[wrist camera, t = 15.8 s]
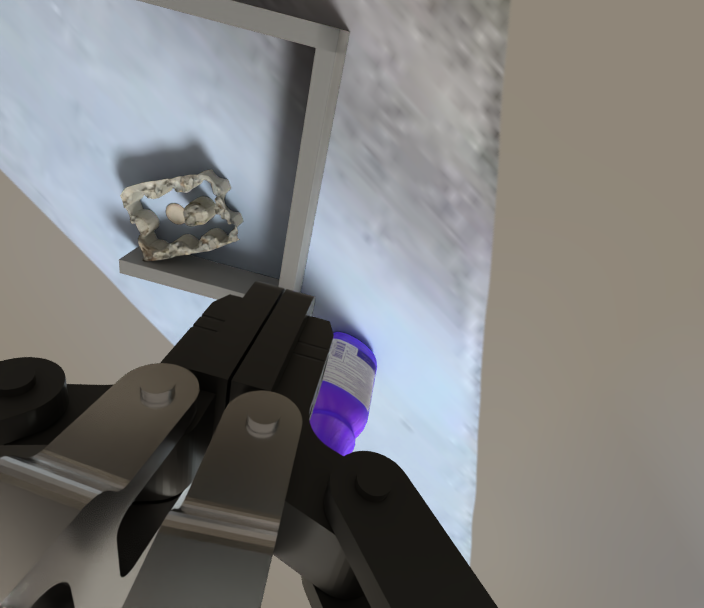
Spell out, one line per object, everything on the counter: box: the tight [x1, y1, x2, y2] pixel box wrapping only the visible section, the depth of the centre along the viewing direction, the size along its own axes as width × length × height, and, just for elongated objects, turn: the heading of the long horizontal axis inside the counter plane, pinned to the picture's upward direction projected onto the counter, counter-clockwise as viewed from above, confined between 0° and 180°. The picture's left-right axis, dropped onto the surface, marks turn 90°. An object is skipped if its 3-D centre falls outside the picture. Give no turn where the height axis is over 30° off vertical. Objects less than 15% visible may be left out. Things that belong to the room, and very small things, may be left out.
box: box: [119, 0, 350, 300], centre depth 39 cm, size 25×18×4 cm
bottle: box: [310, 332, 377, 456], centre depth 42 cm, size 7×6×17 cm
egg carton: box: [120, 169, 243, 261], centre depth 43 cm, size 11×8×4 cm
